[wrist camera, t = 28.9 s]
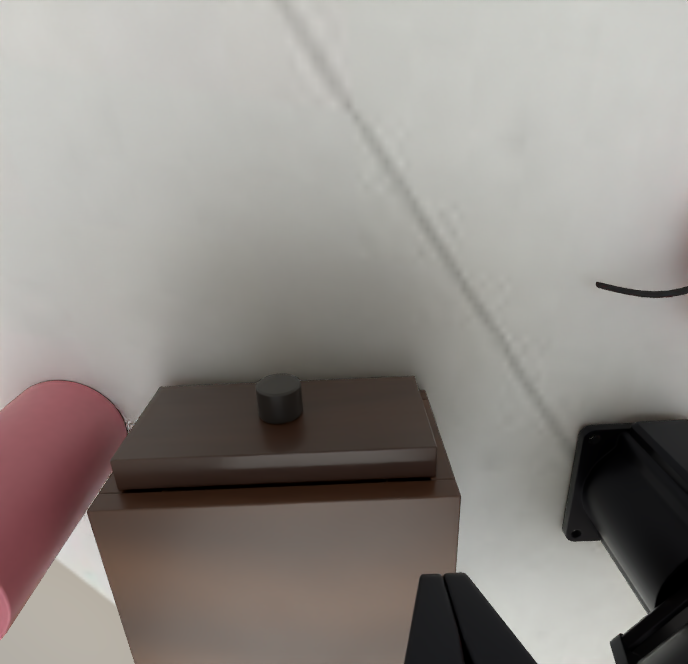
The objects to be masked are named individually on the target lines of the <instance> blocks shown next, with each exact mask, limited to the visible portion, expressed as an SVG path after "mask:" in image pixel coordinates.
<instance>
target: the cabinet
mask: <svg viewBox="0 0 688 664" xmlns="http://www.w3.org/2000/svg"><path fill="white" fill-rule="evenodd" d="M419 391H420V394H421V397H422V400H423V404H424V407H425V410H426V413H427V416H428V419H429V423H430V426H431V429H432V432H433V435H434V438H435V442H436V445H437V466H436V476H435V477H416V478H408V481H406V482H382V483H358V484H334V485H311V486H287V487H263V488H239V489H215V490H191V491H168V492H162V490H163V488H154V489H130V490H118V488H117V485H116V481H115V478H114V474H113V472H112V474H111V475H110V477H109V478H108V480H107V481H106V483H105V484H104V486H103V487H102V489H101V491H100V492H99V495H97V497H96V498H95V500H94V501H93V503H92V504H91V506H90V507H89V509H88V510H87V514H88V518H89V521H90V524H91V527H92V530H93V533H94V537H95V540H96V543H97V546H98V549H99V552H100V555H101V559H102V562H103V565H104V568H105V571H106V574H107V577H108V581H109V584H110V587H111V590H112V593H113V596H114V600H115V603H116V606H117V609H118V612H119V615H120V618H121V622H122V625H123V628H124V631H125V634H126V637H127V640H128V644H129V647H130V650H131V653H132V656H133V659H134V663H135V664H404V660H405V654H406V649H407V643H408V638H409V632H410V627H411V621H412V616H413V610H414V605H415V599H416V594H417V588H418V583H419V578H420V576H421V575H422V574H436V573H438V574H441V575H442V576H443V575H444V574H445V573H456V561H457V547H458V532H459V517H460V503H461V495H460V492H459V489H458V486H457V483H456V480H455V477H454V474H453V471H452V468H451V465H450V463H449V460H448V457H447V454H446V451H445V448H444V445H443V442H442V439H441V436H440V433H439V430H438V427H437V424H436V421H435V418H434V415H433V412H432V409H431V406H430V403H429V401H428V397H427V394H426V391H425V390H419Z"/></svg>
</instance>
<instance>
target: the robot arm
mask: <svg viewBox="0 0 688 664" xmlns="http://www.w3.org/2000/svg"><path fill="white" fill-rule="evenodd" d="M592 435H595V436H594V437H593V438H591V439H589V438H590V437H591V436H592ZM562 529H563V532H564V534H565V536H566V538H567V539H568V540H570V541H574V542H576V541H600V540H601V542H602V544H603V545H604V547H605V548H606V550H607V551H608V553H609V554H610V556H611V558H612V559H613V561H614V562H615V564H616V565H617V567H618V569H619V570H620V572H621V573H622V575H623V576H624V578H625V579H626V581H627V583H628V584H629V586H630V587H631V589H632V590H633V592H634V593H635V595H636V597H637V598H638V600H639V601H640V603H641V604H642V606H643V608H644V609H645V611H646V612H647V615H646V616H645V617H644V618H643V619H641V620H640V621H639V622H638V623H637V624H635V625H634V626H633V627H632V628H631V629H629V630H628V631H627V632H626V633H625V634H621V633H620V634H619V635H618V636H616V637H615V638H614V639H613V640H612V641H610V645H611V649H612V652H613V656H614V659H615V663H616V664H688V420H669V421H646V422H636V423H623V424H599V425H588V426H586V427H584V428H583V429H582V430H581V431H580V433H579V437H578V443H577V448H576V454H575V460H574V465H573V471H572V476H571V482H570V488H569V493H568V499H567V505H566V510H565V516H564V522H563V527H562ZM574 530H575V531H574ZM404 664H537V663H536V661H535V660H534V659H533V658H532V656H531V655H530V654H529V652H528V651H527V650H526V649H525V647H524V646H523V645H522V644H521V642H520V641H519V640H518V639H517V637H516V636H515V635H514V634H513V632H512V631H511V630H510V628H509V627H508V626H507V625H506V623H505V622H504V621H503V620H502V618H501V617H500V616H499V615H498V613H497V612H496V611H495V609H494V608H493V607H492V606H491V604H490V603H489V602H488V601H487V599H486V598H485V597H484V596H483V594H482V593H481V592H480V591H479V589H478V588H477V587H476V585H475V584H474V583H473V582H472V580H471V579H470V578H469V577H468V576H467V575H466V574H465V573H461V572H460V573H445V574H444V575H443V576H442V575H441V574H438V573H436V574H422V575H421V576H420V578H419V583H418V588H417V594H416V599H415V605H414V610H413V616H412V621H411V627H410V632H409V638H408V643H407V649H406V654H405V660H404Z"/></svg>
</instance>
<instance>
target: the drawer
mask: <svg viewBox="0 0 688 664" xmlns="http://www.w3.org/2000/svg"><path fill="white" fill-rule="evenodd" d="M110 463H111V467H112V471H113V474H114V478H115V481H116V485H117V488H118V490H130V489H154V488H163V490H162V492H168V491H191V490H215V489H239V488H263V487H287V486H311V485H334V484H358V483H382V482H406V481H408V478H416V477H435V476H436V466H437V445H436V442H435V438H434V435H433V432H432V429H431V426H430V423H429V419H428V416H427V413H426V410H425V407H424V404H423V400H422V397H421V394H420V391H419V388H418V385H417V381H416V378H415V376H400V377H377V378H353V379H329V380H306V381H300V380H299V379H298V378H297V377H296V376H293V375H290V374H274V375H270V376H267V377H265V378H263V379H261V380H260V381H259V382H258V383H235V384H212V385H188V386H165V387H160V388H159V389H158V391H157V392H156V394H155V395H154V397H153V398H152V400H151V401H150V402H149V404H148V405H147V407H146V408H145V410H144V411H143V413H142V414H141V416H140V417H139V419H138V420H137V422H136V423H135V424H134V426H133V427H132V429H131V430H130V432H129V433H128V435H127V436H126V438H125V439H124V441H123V442H122V444H121V445H120V446H119V448H118V449H117V451H116V452H115V454H114V455H113V457H112V458H111V460H110Z"/></svg>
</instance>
